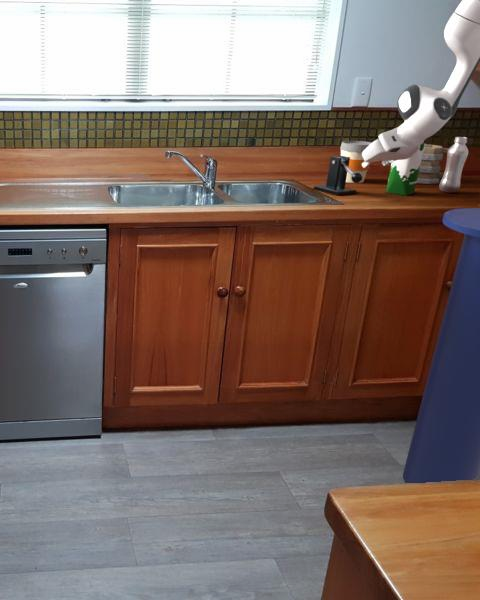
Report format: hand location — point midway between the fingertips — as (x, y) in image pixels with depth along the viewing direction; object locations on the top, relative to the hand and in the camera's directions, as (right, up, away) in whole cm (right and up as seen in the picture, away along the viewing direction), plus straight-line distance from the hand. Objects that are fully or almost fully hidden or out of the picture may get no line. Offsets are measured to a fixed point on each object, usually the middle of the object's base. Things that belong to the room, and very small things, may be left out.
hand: (374, 165), depth 209 cm
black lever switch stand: (-6, -6, +18) cm, 20 cm away
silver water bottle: (+36, -6, +18) cm, 41 cm away
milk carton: (+17, -7, +16) cm, 25 cm away
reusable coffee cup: (+9, +2, +37) cm, 38 cm away
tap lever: (-5, -1, +12) cm, 13 cm away
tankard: (+40, +1, +36) cm, 54 cm away
